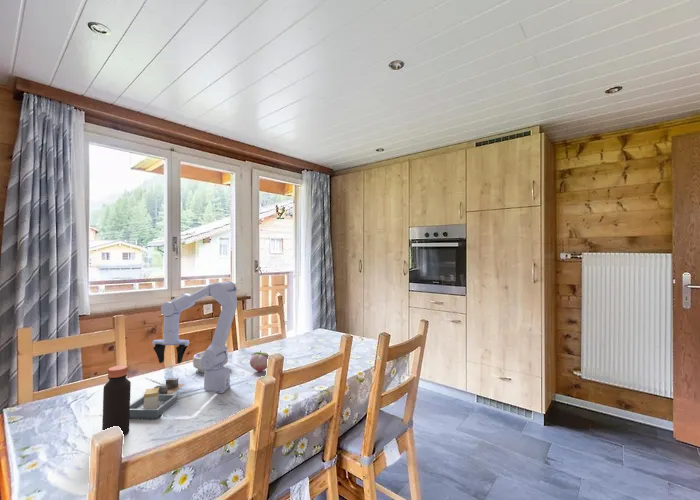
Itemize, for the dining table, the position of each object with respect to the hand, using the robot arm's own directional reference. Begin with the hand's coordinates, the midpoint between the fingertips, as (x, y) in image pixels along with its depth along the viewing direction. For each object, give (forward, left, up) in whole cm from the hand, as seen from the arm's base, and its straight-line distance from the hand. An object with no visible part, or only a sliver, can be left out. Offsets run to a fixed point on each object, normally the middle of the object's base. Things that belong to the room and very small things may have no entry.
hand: (170, 362), depth 139 cm
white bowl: (-9, -19, -10) cm, 23 cm away
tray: (-6, +23, -9) cm, 26 cm away
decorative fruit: (-33, -18, -10) cm, 39 cm away
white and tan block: (-6, +23, -9) cm, 25 cm away
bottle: (-5, +39, -10) cm, 40 cm away
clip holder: (-3, +8, -9) cm, 13 cm away
